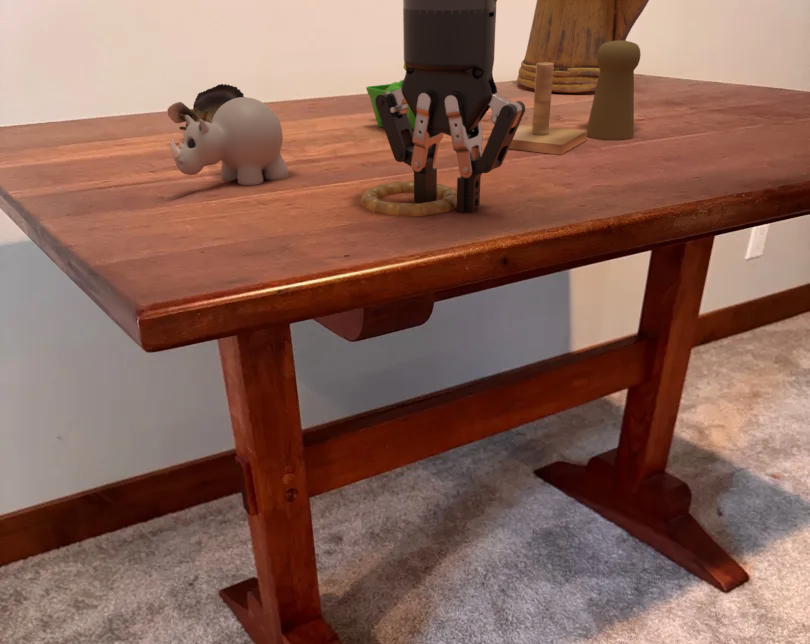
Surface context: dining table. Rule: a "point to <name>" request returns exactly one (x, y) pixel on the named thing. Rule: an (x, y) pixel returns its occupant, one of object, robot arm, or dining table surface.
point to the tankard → (575, 39)
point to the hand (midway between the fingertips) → (446, 213)
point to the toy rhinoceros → (235, 143)
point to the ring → (376, 205)
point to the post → (545, 121)
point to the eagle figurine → (204, 104)
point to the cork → (614, 92)
